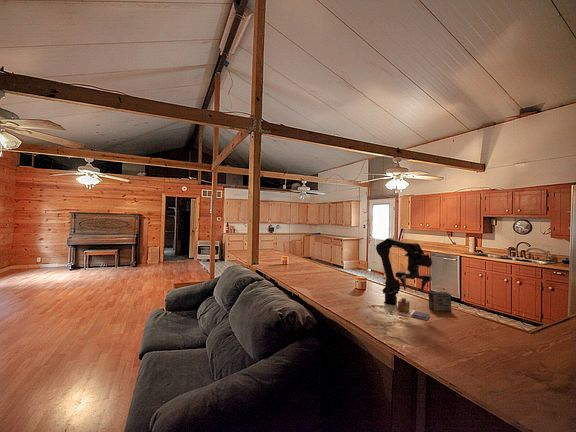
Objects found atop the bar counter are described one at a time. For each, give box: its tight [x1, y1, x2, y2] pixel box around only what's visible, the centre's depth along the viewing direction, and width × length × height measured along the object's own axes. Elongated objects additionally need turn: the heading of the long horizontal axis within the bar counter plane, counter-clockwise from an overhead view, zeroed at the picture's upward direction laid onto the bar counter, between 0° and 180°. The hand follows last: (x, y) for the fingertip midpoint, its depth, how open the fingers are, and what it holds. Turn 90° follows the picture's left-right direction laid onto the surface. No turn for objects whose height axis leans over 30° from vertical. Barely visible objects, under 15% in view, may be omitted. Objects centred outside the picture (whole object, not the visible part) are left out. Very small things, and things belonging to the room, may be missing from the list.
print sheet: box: [391, 306, 417, 317], centre depth 153 cm, size 10×12×1 cm
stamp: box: [397, 297, 410, 313], centre depth 153 cm, size 5×5×8 cm
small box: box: [428, 291, 452, 313], centre depth 156 cm, size 11×6×10 cm, turn 84°
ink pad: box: [410, 310, 431, 321], centre depth 145 cm, size 8×8×1 cm
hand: (413, 290), depth 152 cm, fingers open, 9 cm apart
